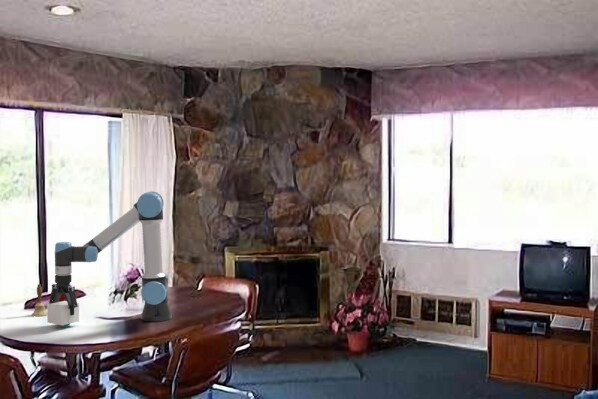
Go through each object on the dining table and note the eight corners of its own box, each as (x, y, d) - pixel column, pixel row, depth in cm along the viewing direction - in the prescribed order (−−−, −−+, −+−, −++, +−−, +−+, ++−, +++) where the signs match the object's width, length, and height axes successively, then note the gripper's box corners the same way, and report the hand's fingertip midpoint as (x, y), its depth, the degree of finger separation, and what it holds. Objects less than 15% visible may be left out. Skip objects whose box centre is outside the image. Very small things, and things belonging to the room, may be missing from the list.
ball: (63, 323, 332) (69, 328, 335) (68, 314, 334) (75, 319, 338) (56, 321, 335) (63, 326, 338) (62, 312, 337) (69, 317, 341)
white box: (78, 321, 336) (78, 303, 336) (61, 325, 328) (61, 306, 327) (64, 318, 342) (64, 300, 341) (47, 322, 333) (47, 304, 333)
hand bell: (42, 317, 355) (42, 286, 354) (28, 316, 357) (27, 285, 356) (51, 313, 363) (51, 283, 362) (37, 312, 365) (37, 282, 364)
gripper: (41, 273, 337) (41, 318, 338) (72, 277, 324) (72, 324, 325) (54, 271, 343) (54, 315, 344) (85, 275, 331) (85, 322, 332)
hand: (63, 320), depth 335 cm, fingers closed on white box, 10 cm apart
